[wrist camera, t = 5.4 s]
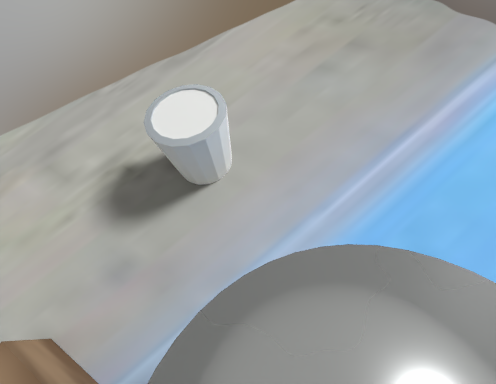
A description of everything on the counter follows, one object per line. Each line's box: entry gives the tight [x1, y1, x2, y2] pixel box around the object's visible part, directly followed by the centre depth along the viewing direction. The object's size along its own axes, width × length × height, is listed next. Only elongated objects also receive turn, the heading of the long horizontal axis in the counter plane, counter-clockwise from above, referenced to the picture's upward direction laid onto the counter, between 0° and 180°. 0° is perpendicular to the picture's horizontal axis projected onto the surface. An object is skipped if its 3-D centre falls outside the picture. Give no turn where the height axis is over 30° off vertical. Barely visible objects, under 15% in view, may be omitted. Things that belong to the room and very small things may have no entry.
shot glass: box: [144, 84, 232, 185], centre depth 23 cm, size 7×7×7 cm
